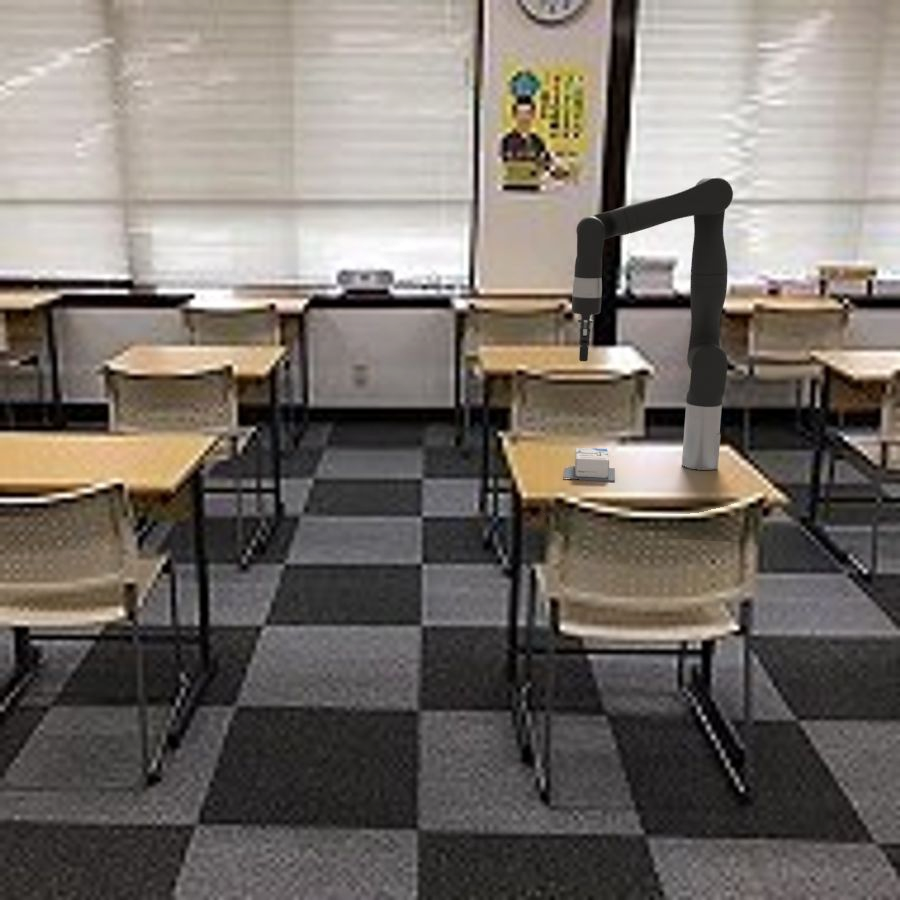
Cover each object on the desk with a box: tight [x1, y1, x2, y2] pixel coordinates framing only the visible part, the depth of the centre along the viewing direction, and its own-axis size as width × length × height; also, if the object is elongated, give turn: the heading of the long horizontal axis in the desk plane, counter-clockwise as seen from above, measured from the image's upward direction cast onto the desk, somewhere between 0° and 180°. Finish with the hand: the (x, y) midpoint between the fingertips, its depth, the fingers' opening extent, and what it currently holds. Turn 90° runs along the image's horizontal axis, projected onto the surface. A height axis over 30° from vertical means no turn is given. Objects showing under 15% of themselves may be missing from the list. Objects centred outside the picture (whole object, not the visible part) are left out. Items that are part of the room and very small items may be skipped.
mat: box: [562, 465, 616, 483], centre depth 271 cm, size 13×12×1 cm
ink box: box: [574, 447, 610, 478], centre depth 272 cm, size 9×5×12 cm
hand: (583, 360), depth 276 cm, fingers closed
